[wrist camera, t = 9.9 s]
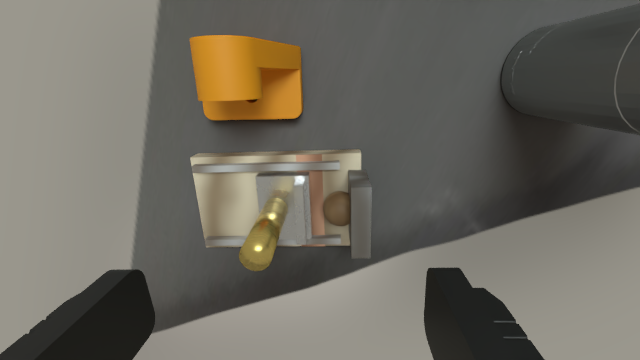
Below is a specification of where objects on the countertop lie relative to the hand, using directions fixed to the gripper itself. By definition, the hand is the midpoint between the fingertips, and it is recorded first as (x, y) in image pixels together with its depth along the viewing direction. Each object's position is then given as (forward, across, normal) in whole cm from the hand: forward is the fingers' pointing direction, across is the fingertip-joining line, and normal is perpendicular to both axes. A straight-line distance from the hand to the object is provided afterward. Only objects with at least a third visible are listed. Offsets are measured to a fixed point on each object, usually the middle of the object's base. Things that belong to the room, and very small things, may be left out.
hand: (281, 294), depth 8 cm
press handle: (+27, +5, +8) cm, 28 cm away
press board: (+29, +6, +8) cm, 31 cm away
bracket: (+29, +8, -6) cm, 31 cm away
